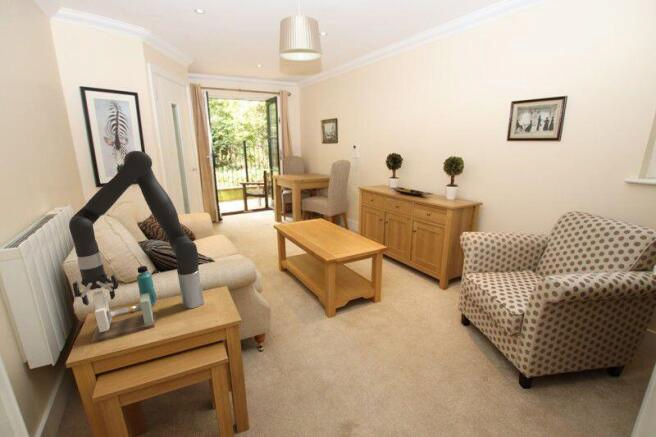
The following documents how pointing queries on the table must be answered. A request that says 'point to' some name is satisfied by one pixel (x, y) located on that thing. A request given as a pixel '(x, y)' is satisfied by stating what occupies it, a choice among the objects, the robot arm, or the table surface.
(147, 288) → the beverage bottle
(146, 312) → the mount block
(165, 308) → the table surface
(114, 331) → the pipe board
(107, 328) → the white stepped block
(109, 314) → the steel pipe
